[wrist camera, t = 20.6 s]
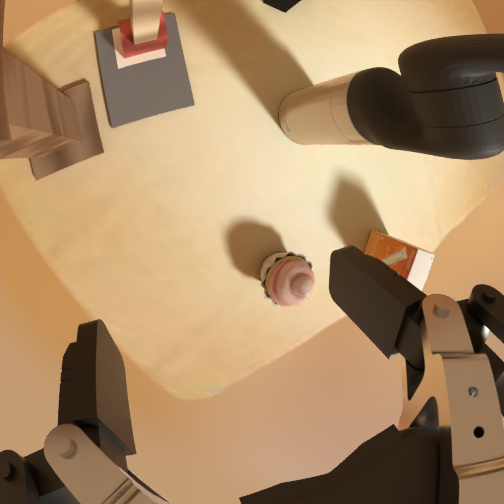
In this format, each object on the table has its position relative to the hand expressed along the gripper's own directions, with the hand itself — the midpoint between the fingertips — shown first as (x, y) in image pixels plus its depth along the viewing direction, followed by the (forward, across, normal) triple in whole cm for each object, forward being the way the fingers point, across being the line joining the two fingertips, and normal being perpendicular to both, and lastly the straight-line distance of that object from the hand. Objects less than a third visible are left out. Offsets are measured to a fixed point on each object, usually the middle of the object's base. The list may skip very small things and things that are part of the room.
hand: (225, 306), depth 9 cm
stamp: (+27, -1, -17) cm, 31 cm away
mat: (+38, 0, -13) cm, 40 cm away
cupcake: (+32, -15, +23) cm, 42 cm away
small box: (+31, -37, +26) cm, 55 cm away
